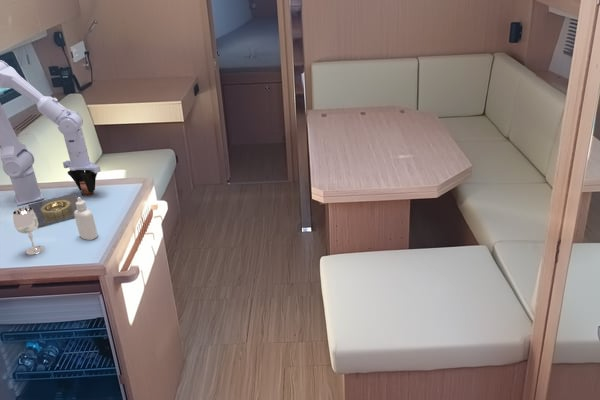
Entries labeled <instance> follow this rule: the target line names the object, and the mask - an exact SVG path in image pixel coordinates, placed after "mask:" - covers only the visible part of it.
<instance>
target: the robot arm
mask: <svg viewBox="0 0 600 400" xmlns="http://www.w3.org/2000/svg"><path fill="white" fill-rule="evenodd" d="M0 89H12V90H15V92H17V93H19V94H20V95H22V96H23V97H24V98H26V99H27V100H29V101H31V102H32V103H33V104H35V105H36V108H37V111H38V112H39V113H41V114H42V115H43V116H45V117H46V118H47V119H49V120H50V121H51V122H53V123H54V124H55V125H56V126H57V129H58V131H59V132H60V133H61V134H62V135H63V139H64V142H65V146H66V149H67V154H68V158H69V160H65V161H62V164H63V169H68V168H69V170H68V171H67V175H69V176H70V178H71V179H72V180H73V181H74V183H75V185H76V186H77V188H78V190H79V191H81V186H80V183H79V180H81V179H84V181H85V183H86V186H87V189H88V191H89V192H92V191H94V192H95V191H96V179H97V175H98V173H100V172H101V167H100V165H97V164H95V163H93V162H92V161H91V160H90V156H89V152H88V148H87V145H86V141H85V136H84V132H83V128H82V126H83V121H84V120H83V118H82V116H81V115H80V114H79V112H77V111H75V110H74V111H73V110H71V109H70V108H67V107H65V106H64V105H62V104H61V103H60V102H58V101H59V100H58V99H57V98H56V97H52V96H51V95H50V96H45V95H44V94H42V93H41V92H40V91H38V90H37V89H36V88H35V87H34V86H33V85H32V84H30V83H29V82H28V81H27V80H26V79H25V78H23V77H22V76H21V75H20V74H19V73H18V72H17V71H16V69H15V68H14V67H12V66H10V65H9V64H8V63H7V62H5V60H1V59H0ZM0 148H1V152H0V159H1V162H2V171H3V172H4V173H5V175H7V176H9V179H10V183H11V185H12V188H13V191H14V199H15V202H16V205H17V206H21V205H25V204H31V203H33V202H34V203H35V202H39V201H43V199H45V198H44V196H43V193H42V190H41V188H40V187H39V183H38V181H37V180H38V179H37V176H36V172H35V169H34V167H33V165H34V163H35V156H34V154H33V153H32V152H31V151H30V150H28V148H27V147H26V144H24V143H22V142H20V141H19V139H18V137H17V134H16V132H15V131H14V128H13V127H12V124H11V121H10V120H9V118H8V116H7V114H6V111H5V109H4V107H3V106H2V103H1V102H0Z"/></svg>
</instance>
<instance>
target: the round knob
mask: <svg viewBox="0 0 600 400" xmlns="http://www.w3.org/2000/svg"><path fill="white" fill-rule="evenodd" d="M79 183H80V186H81V190H80V191H81V194H82V197H92V196H93V195H94V194H95V190H94V191H92V192H89V191H88V189H87V186H86V183H85V181H84V179H81V180H79Z"/></svg>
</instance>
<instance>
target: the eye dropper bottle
mask: <svg viewBox="0 0 600 400" xmlns="http://www.w3.org/2000/svg"><path fill="white" fill-rule="evenodd" d="M77 199H78V202H76V207H77V210H76V211H75V212H74V215H75V218H74V219H75V223H76V227H77V230H78V234H79V236H80V238H81V239H83V240H87V241H88V240H89V241H90V240H91V241H92V240H95V239H96V238H97V237H98V236H99V234H98V231H97V226H96V222H95V219H94V215H93V212H92V211H91V210H90V209H89V208H87V204H86V201H85V200H83V199H82V198H81V197H80V196H78V197H77Z"/></svg>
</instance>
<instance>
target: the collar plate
mask: <svg viewBox="0 0 600 400" xmlns="http://www.w3.org/2000/svg"><path fill="white" fill-rule="evenodd" d="M76 202H78V197H77V195H76V194H75V193H74V192H73V193H68V194H66V195H61V196H57V197H53V198H49V199H46V200H40V201H36V202H34V203H33V202H32V203H28V205H27V207H31V208H32V209H33V210H34V212H35V214H36V215H37V218H38V222H39V225H38V227H37V229H39V228H40V229H41V228H44V227H47V226H50V225H54V224H58V223H61V222H65V221H70V220H73V219H75V215H74V212H75V211H76V210H77V207H76Z"/></svg>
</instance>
